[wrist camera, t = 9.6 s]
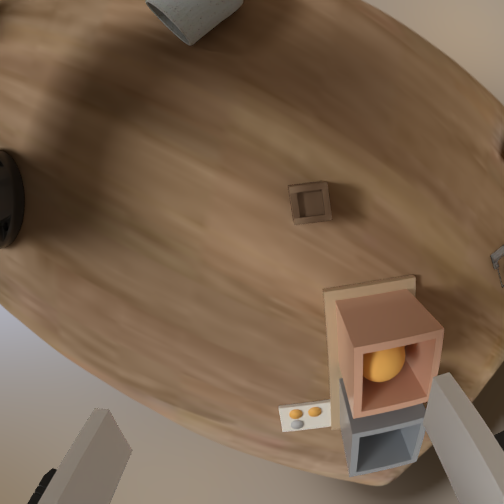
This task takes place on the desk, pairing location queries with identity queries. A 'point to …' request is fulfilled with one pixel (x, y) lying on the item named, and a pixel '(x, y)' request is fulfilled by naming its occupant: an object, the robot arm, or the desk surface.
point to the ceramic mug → (192, 16)
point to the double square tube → (388, 392)
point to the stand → (310, 202)
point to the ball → (383, 364)
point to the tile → (305, 415)
